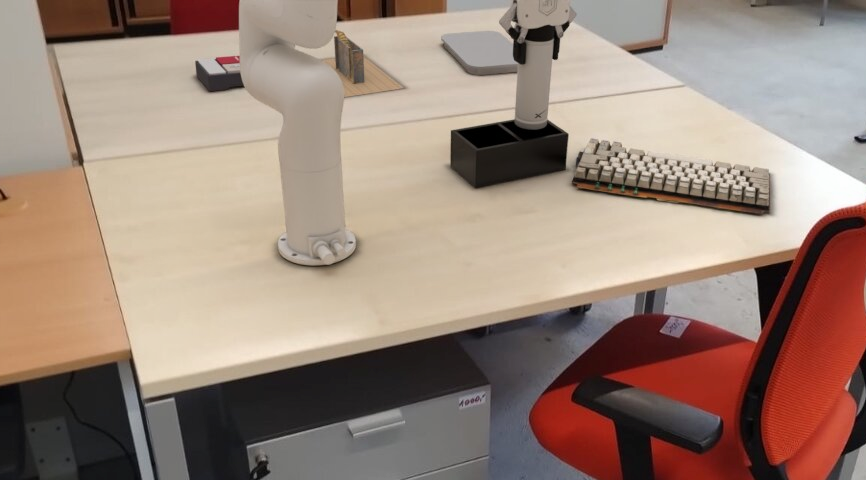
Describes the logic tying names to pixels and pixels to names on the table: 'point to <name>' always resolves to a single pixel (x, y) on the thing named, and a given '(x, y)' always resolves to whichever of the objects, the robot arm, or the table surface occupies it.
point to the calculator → (219, 72)
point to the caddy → (507, 152)
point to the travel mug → (535, 79)
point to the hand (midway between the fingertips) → (535, 59)
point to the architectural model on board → (357, 69)
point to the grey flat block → (481, 52)
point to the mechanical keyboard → (672, 178)
